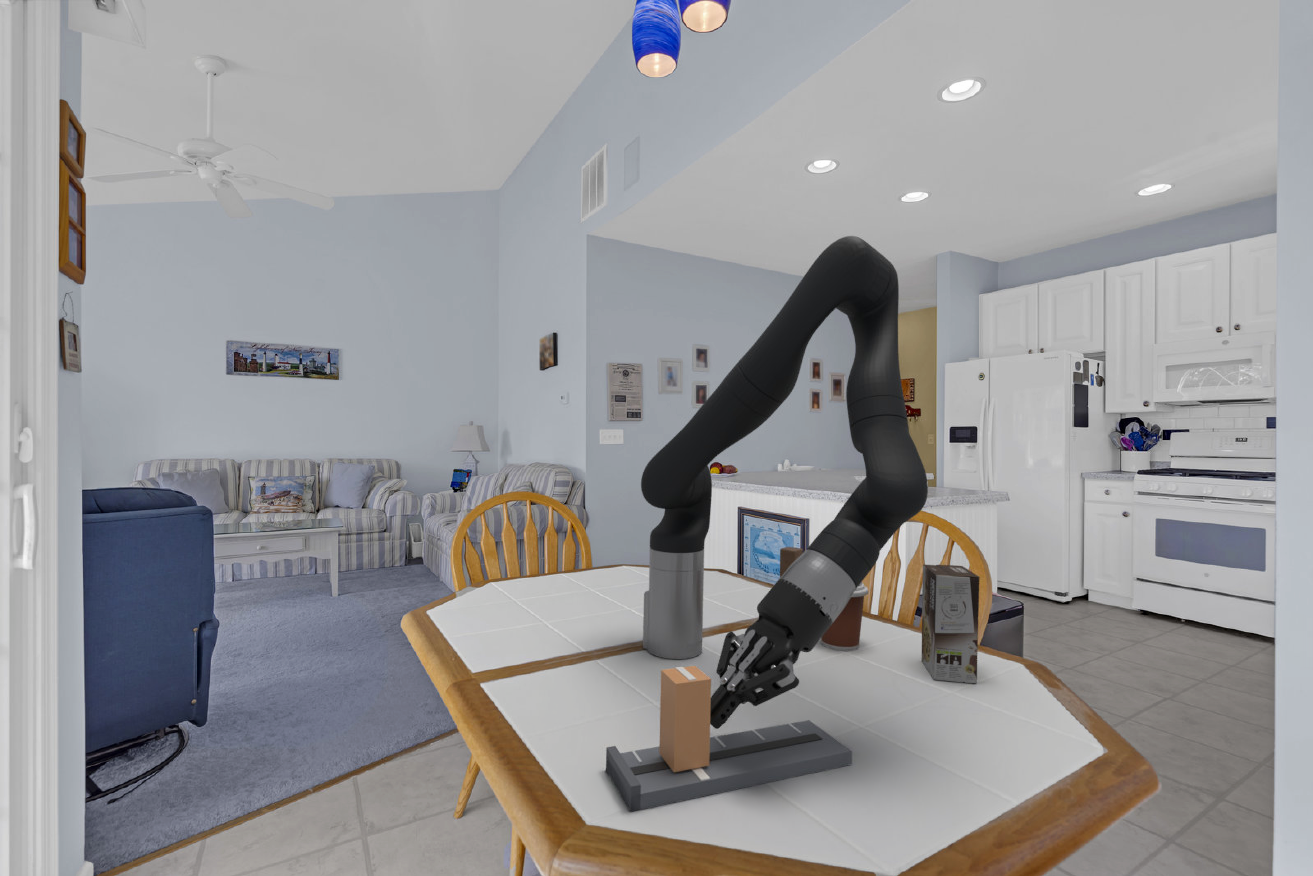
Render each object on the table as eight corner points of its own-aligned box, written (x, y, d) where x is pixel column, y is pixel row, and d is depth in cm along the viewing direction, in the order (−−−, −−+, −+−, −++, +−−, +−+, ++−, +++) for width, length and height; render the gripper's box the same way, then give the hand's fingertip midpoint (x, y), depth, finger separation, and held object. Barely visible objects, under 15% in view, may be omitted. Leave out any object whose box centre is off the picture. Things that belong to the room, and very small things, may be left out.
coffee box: (978, 684, 93) (981, 576, 93) (932, 680, 94) (935, 574, 94) (961, 663, 102) (963, 564, 102) (919, 659, 103) (922, 562, 103)
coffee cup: (809, 648, 108) (811, 579, 108) (817, 633, 116) (818, 569, 116) (865, 656, 104) (866, 585, 104) (868, 640, 113) (870, 574, 113)
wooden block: (778, 626, 120) (779, 548, 120) (786, 622, 123) (788, 546, 123) (809, 633, 116) (810, 553, 116) (817, 629, 118) (819, 550, 118)
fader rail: (630, 811, 60) (630, 786, 60) (605, 769, 67) (606, 747, 67) (851, 764, 69) (852, 743, 69) (808, 732, 77) (809, 712, 77)
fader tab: (673, 772, 63) (675, 682, 63) (659, 753, 67) (661, 668, 67) (709, 765, 65) (711, 677, 65) (693, 747, 69) (694, 664, 69)
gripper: (757, 566, 77) (662, 677, 72) (823, 591, 64) (714, 728, 60) (792, 605, 79) (703, 717, 74) (863, 637, 66) (761, 773, 62)
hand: (708, 721), depth 67 cm, fingers closed
